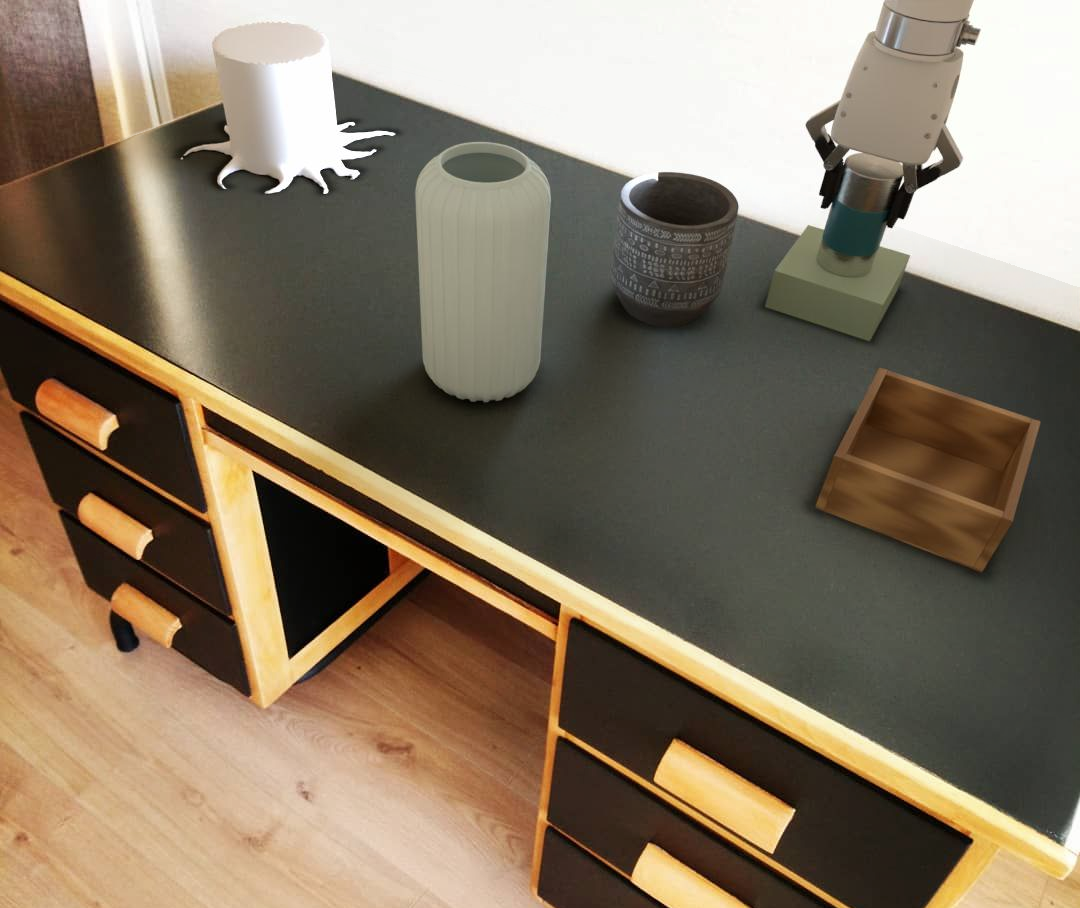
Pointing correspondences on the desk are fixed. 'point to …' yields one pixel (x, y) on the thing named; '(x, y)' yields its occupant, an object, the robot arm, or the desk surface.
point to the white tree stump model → (280, 104)
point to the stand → (835, 288)
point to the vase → (482, 269)
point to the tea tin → (859, 214)
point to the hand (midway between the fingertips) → (859, 211)
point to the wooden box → (931, 468)
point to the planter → (671, 246)
